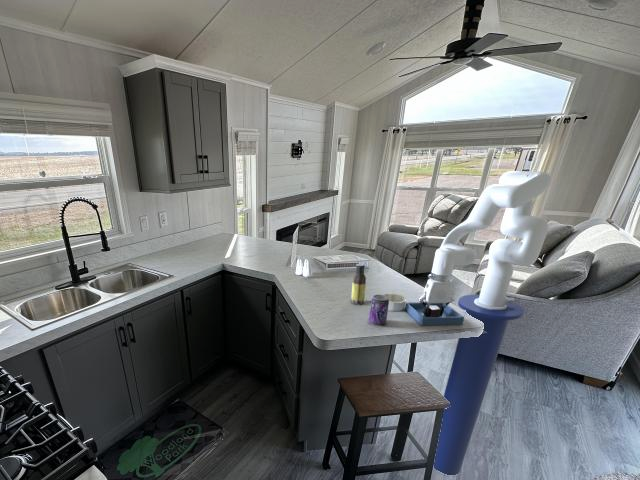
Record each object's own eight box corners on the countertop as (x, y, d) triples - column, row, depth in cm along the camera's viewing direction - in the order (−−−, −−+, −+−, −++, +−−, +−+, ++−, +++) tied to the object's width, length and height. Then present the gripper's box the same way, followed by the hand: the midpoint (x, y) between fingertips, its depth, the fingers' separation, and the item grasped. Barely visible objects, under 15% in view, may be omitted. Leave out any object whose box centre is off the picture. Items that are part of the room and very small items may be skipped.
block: (434, 313, 149) (436, 305, 147) (439, 317, 145) (441, 309, 144) (425, 313, 149) (427, 305, 147) (430, 317, 145) (431, 309, 144)
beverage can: (370, 325, 142) (373, 300, 137) (367, 318, 148) (370, 294, 144) (387, 326, 141) (391, 300, 136) (383, 318, 147) (387, 294, 142)
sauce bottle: (363, 300, 167) (367, 262, 159) (364, 305, 161) (369, 266, 153) (350, 299, 168) (354, 262, 160) (350, 304, 163) (354, 266, 155)
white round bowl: (398, 301, 164) (400, 293, 162) (408, 310, 153) (410, 302, 152) (376, 302, 164) (377, 293, 162) (385, 311, 154) (386, 302, 152)
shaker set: (313, 277, 200) (314, 260, 196) (308, 279, 198) (308, 261, 194) (300, 272, 210) (300, 256, 205) (295, 274, 208) (295, 257, 203)
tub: (441, 308, 154) (443, 301, 153) (462, 324, 140) (464, 317, 138) (404, 309, 155) (406, 302, 154) (421, 325, 140) (423, 318, 139)
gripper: (424, 280, 137) (417, 319, 144) (466, 279, 136) (456, 318, 143) (416, 274, 144) (409, 311, 151) (455, 273, 143) (447, 310, 150)
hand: (432, 314), depth 147 cm, fingers open, 5 cm apart
